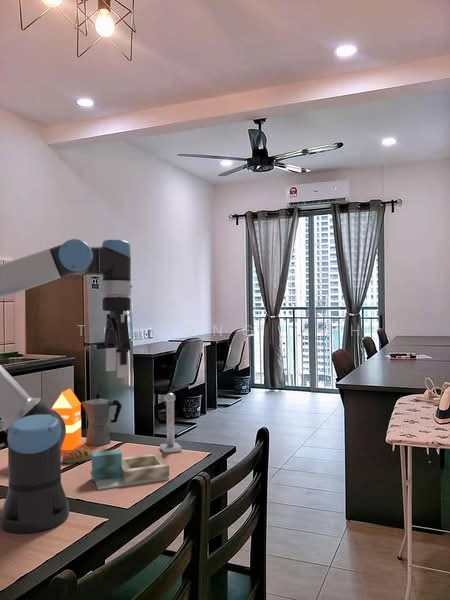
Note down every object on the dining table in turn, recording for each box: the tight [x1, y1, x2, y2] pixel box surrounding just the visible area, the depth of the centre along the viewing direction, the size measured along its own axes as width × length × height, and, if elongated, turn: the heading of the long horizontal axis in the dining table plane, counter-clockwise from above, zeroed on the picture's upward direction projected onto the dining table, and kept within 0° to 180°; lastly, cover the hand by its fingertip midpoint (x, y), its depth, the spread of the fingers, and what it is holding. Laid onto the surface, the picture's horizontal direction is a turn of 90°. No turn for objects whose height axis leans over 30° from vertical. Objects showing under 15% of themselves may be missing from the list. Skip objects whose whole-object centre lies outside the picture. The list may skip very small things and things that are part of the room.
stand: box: [159, 392, 183, 454], centre depth 169 cm, size 6×6×20 cm
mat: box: [90, 465, 170, 491], centre depth 144 cm, size 20×16×1 cm
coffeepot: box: [80, 393, 123, 447], centre depth 179 cm, size 15×9×18 cm, turn 86°
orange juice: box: [50, 388, 82, 451], centre depth 174 cm, size 8×9×20 cm
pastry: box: [61, 446, 93, 465], centre depth 159 cm, size 9×7×4 cm
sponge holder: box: [91, 449, 170, 482], centre depth 144 cm, size 21×13×7 cm, turn 112°
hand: (116, 374), depth 133 cm, fingers open, 13 cm apart
